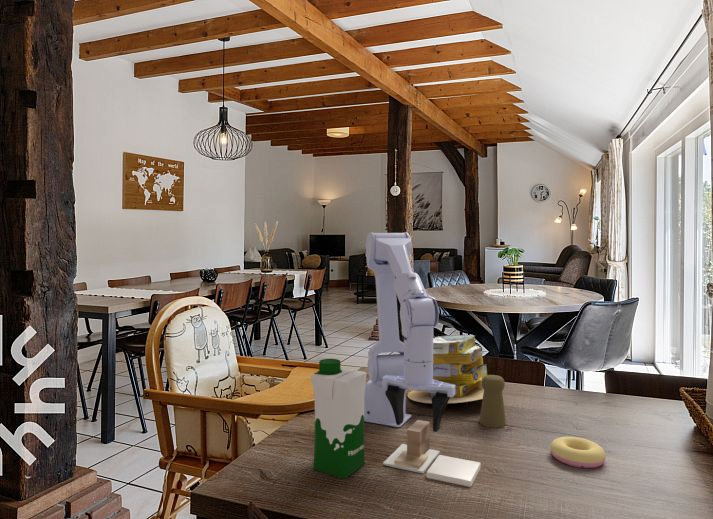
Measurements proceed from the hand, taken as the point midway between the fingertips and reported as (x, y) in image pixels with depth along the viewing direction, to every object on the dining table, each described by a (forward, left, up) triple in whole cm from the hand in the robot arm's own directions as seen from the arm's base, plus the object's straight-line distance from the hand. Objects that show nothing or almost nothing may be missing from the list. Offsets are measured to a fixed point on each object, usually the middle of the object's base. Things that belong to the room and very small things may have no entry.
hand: (417, 426), depth 104 cm
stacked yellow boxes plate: (-3, +38, -6) cm, 39 cm away
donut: (+29, +13, -6) cm, 32 cm away
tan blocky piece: (0, -1, -5) cm, 6 cm away
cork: (+10, +24, -6) cm, 27 cm away
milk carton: (-11, -12, -6) cm, 17 cm away
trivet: (0, -2, -6) cm, 6 cm away
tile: (+9, 0, -5) cm, 10 cm away
